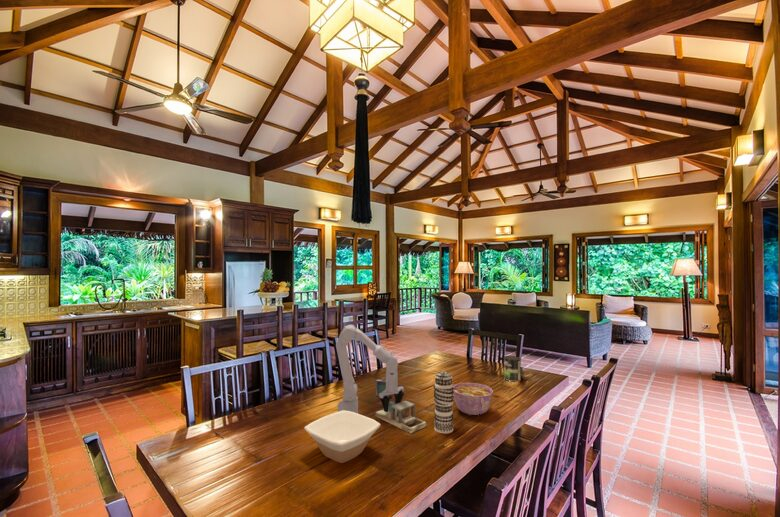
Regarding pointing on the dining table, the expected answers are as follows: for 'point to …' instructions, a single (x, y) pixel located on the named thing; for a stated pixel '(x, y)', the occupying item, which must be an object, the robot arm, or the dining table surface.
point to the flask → (381, 386)
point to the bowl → (342, 434)
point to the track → (409, 426)
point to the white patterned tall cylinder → (443, 402)
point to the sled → (396, 414)
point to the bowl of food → (472, 398)
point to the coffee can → (512, 368)
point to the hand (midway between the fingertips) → (391, 409)
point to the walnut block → (404, 413)
